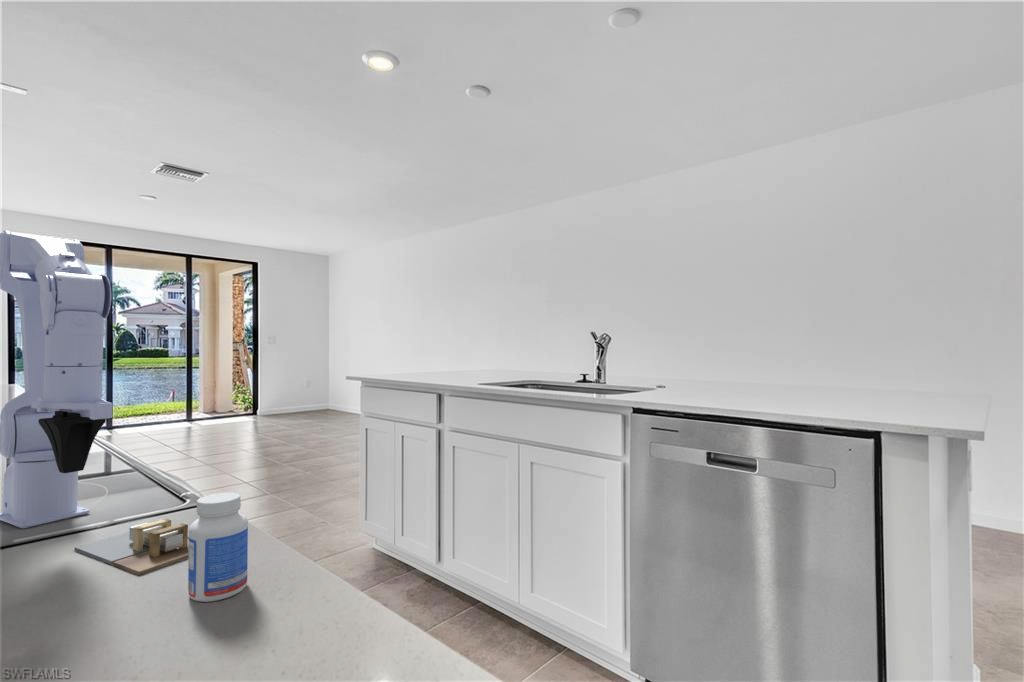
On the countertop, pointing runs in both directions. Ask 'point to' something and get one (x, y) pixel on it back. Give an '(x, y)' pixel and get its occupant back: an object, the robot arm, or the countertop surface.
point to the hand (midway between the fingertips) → (71, 471)
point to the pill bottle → (218, 548)
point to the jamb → (156, 553)
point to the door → (120, 544)
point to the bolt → (161, 538)
